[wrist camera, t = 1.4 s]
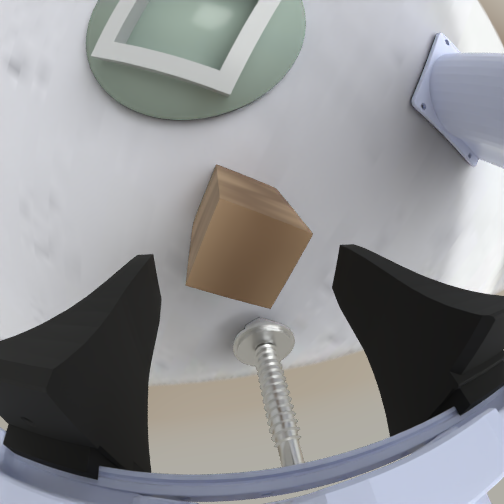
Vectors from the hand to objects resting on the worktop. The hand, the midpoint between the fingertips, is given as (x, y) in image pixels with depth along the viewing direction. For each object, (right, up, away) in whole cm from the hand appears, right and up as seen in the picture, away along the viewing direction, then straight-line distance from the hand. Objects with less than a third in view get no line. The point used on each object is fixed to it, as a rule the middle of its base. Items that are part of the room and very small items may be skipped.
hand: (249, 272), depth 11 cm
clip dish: (-3, +14, +1) cm, 15 cm away
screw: (+1, -6, +12) cm, 14 cm away
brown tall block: (-1, +4, +7) cm, 8 cm away
